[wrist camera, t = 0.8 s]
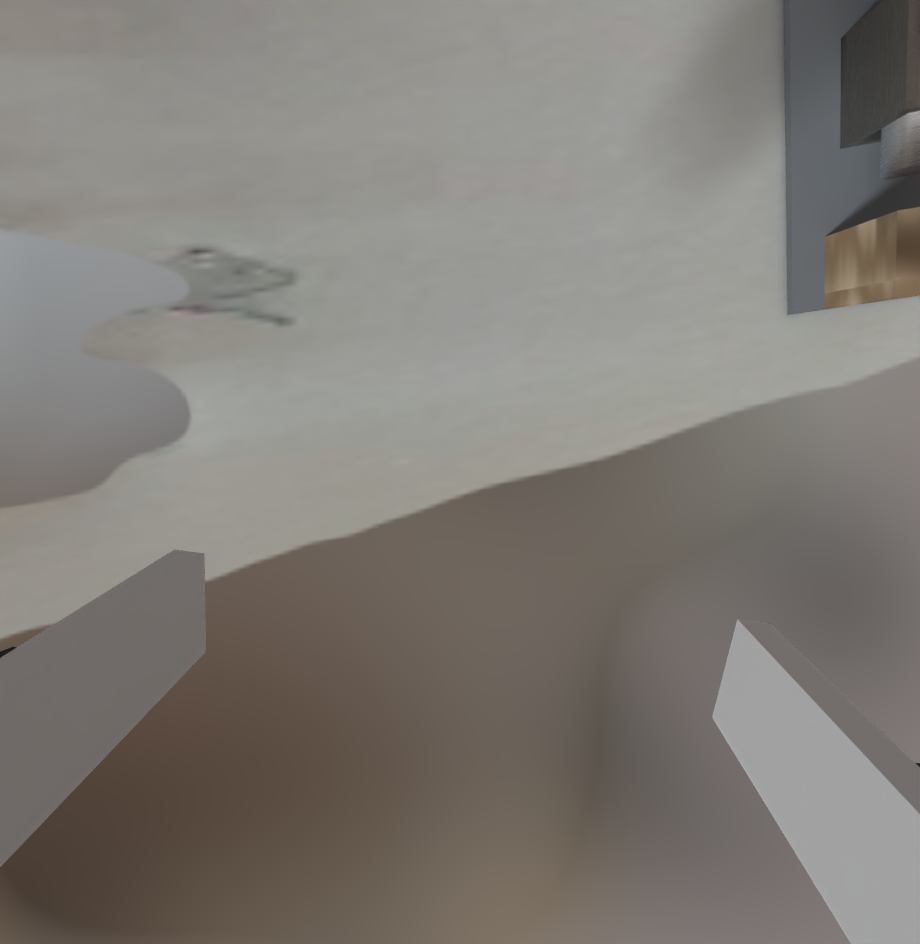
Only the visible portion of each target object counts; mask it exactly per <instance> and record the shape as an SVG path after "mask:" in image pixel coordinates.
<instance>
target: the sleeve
mask: <svg viewBox="0 0 920 944" xmlns="http://www.w3.org/2000/svg"><path fill="white" fill-rule="evenodd" d="M917 111H920V0H883V1H881V2H880V3H879V4H878V5H877V6H876V7H875V8H874V9H873V10H872V11H870V12H869V13H868V14H867V15H866V16H865V17H864V18H863V19H862V20H861V21H860V22H858V23H857V24H856V25H855V26H854V27H853V28H852V29H851V30H850V31H849V32H847V33H846V34H845V35H844V36H843V37H842V38H841V104H840V149H843V148H848V147H854V146H860V145H865V144H871V143H876V142H881V129H882V128H884V127H885V126H887V125H889V124H891V123H892V122H894V121H896V120H897V119H899V118H901V117H902V116H904V115H906V114H908V113H911V112H917Z"/></svg>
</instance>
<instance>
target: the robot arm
mask: <svg viewBox="0 0 920 944" xmlns="http://www.w3.org/2000/svg"><path fill="white" fill-rule="evenodd" d="M204 653H205V566H204V553H196V552H188V551H180V550H173V551H172V552H170V553H168V554H167V555H165V556H163V557H162V558H160V559H159V560H157V561H155V562H154V563H152V564H151V565H149V566H147V567H146V568H144V569H143V570H141V571H139V572H138V573H136V574H135V575H133V576H131V577H130V578H128V579H126V580H125V581H123V582H122V583H120V584H118V585H117V586H115V587H114V588H112V589H110V590H109V591H107V592H106V593H104V594H102V595H101V596H99V597H98V598H96V599H94V600H93V601H91V602H89V603H88V604H86V605H85V606H83V607H81V608H80V609H78V610H77V611H75V612H73V613H72V614H70V615H69V616H67V617H65V618H64V619H62V620H61V621H59V622H57V623H56V624H54V625H52V626H51V627H49V628H48V629H46V630H44V631H43V632H41V633H40V634H38V635H36V636H35V637H33V638H32V639H30V640H28V641H27V642H25V643H23V644H22V645H20V646H19V647H11V648H9V649H6V650H3V651H1V652H0V867H1V866H2V865H3V864H4V862H5V861H6V860H7V859H8V858H9V857H10V856H11V855H12V854H13V853H14V852H15V851H16V850H17V849H18V848H19V847H20V846H21V845H22V843H24V842H25V840H26V839H27V838H28V837H29V836H30V835H31V834H32V833H33V832H34V831H35V830H36V829H37V828H38V827H39V826H40V825H41V824H42V823H43V821H45V819H46V818H47V817H48V816H49V815H50V814H51V813H52V812H53V811H54V810H55V809H56V808H57V807H58V806H59V805H60V804H61V803H62V802H63V801H64V800H65V799H66V797H67V796H68V795H69V794H70V793H71V792H72V791H73V790H74V789H75V788H76V787H77V786H78V785H79V784H80V783H81V782H82V781H83V780H84V778H85V777H87V775H88V774H89V773H90V772H91V771H92V770H93V769H94V768H95V767H96V766H97V765H98V764H99V763H100V762H101V761H102V759H104V758H105V756H107V754H108V753H109V752H110V751H111V750H112V749H113V748H114V747H115V746H116V745H117V744H118V743H119V742H120V741H121V740H122V739H123V738H124V737H125V736H126V735H127V734H128V732H129V731H130V730H131V729H132V728H133V727H134V726H135V725H136V724H137V723H138V722H139V721H140V720H141V719H142V718H143V717H144V716H145V715H146V714H147V713H148V711H149V710H150V709H151V708H152V707H153V706H154V705H155V704H156V703H157V702H158V701H159V700H160V699H161V698H162V697H163V696H164V695H165V694H166V693H167V692H168V691H169V689H170V688H171V687H172V686H173V685H174V684H175V683H176V682H177V681H178V680H179V679H180V678H181V677H182V676H183V675H184V673H186V672H187V671H188V669H189V668H190V667H191V666H192V665H193V664H194V663H195V662H196V661H197V660H198V659H199V658H200V657H201V656H202V655H203V654H204ZM712 718H713V719H714V721H715V723H716V724H717V726H718V727H719V729H720V731H721V732H722V734H723V736H724V737H725V739H726V741H727V742H728V744H729V745H730V747H731V749H732V750H733V752H734V754H735V755H736V757H737V758H738V760H739V762H740V763H741V765H742V766H743V768H744V770H745V772H746V773H747V775H748V776H749V778H750V780H751V781H752V783H753V784H754V786H755V788H756V789H757V791H758V793H759V794H760V796H761V798H762V799H763V801H764V802H765V804H766V806H767V807H768V809H769V811H770V812H771V814H772V816H773V817H774V819H775V820H776V822H777V824H778V825H779V827H780V829H781V830H782V832H783V833H784V835H785V837H786V838H787V840H788V842H789V843H790V845H791V847H792V848H793V850H794V851H795V853H796V855H797V856H798V858H799V860H800V861H801V863H802V864H803V866H804V868H805V869H806V871H807V873H808V874H809V876H810V878H811V879H812V881H813V882H814V884H815V886H816V887H817V889H818V890H819V892H820V894H821V895H822V897H823V899H824V900H825V902H826V904H827V905H828V907H829V909H830V910H831V912H832V913H833V915H834V917H835V918H836V920H837V921H838V923H839V925H840V926H841V928H842V930H843V931H844V933H845V935H846V936H847V938H848V939H849V941H850V943H851V944H920V763H915V762H914V761H912V760H911V759H910V758H909V757H908V756H907V755H906V754H905V753H904V752H903V751H902V750H901V749H900V748H899V747H898V746H897V745H896V744H895V743H894V742H893V741H892V740H891V739H890V738H889V737H887V736H886V735H885V734H884V733H883V732H882V731H881V730H880V729H879V728H878V727H877V726H876V725H875V724H874V723H873V722H872V721H871V720H870V719H869V718H868V717H867V716H866V715H865V714H864V713H863V712H862V711H860V710H859V709H858V708H857V707H856V706H855V705H854V704H853V703H852V702H851V701H850V700H849V699H848V698H847V697H846V696H845V695H844V694H843V693H842V692H841V691H840V690H839V689H838V688H836V686H834V685H833V684H832V683H831V682H830V681H829V680H828V679H827V678H826V677H825V676H824V675H823V674H822V673H821V672H820V671H819V670H818V669H817V668H816V667H814V665H813V664H811V662H809V661H808V660H807V659H806V658H805V657H804V656H803V655H802V654H801V653H800V652H799V651H798V650H797V649H796V648H795V647H794V646H793V645H792V644H791V643H790V642H789V641H788V640H787V639H786V638H785V637H783V636H782V635H781V634H780V633H779V632H778V631H777V630H776V629H775V628H774V627H773V626H772V625H771V624H770V623H763V622H755V621H747V620H737V623H736V627H735V631H734V635H733V639H732V643H731V647H730V650H729V654H728V658H727V662H726V666H725V670H724V674H723V678H722V681H721V685H720V689H719V693H718V697H717V701H716V705H715V709H714V713H713V716H712Z"/></svg>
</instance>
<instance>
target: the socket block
mask: <svg viewBox="0 0 920 944" xmlns="http://www.w3.org/2000/svg"><path fill="white" fill-rule="evenodd" d="M918 295H920V207H916V208H910V209H904V210H898V211H895V212H892V213H889V214H887V215H884V216H881V217H878V218H876V219H873V220H870V221H867V222H865V223H862V224H859V225H856V226H854V227H851V228H848V229H845V230H843V231H840V232H837V233H834V234H832V235H829V236H826V237H825V298H824V309H830V308H837V307H844V306H851V305H858V304H864V303H871V302H878V301H885V300H892V299H898V298H905V297H912V296H918Z"/></svg>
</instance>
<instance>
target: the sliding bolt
mask: <svg viewBox="0 0 920 944" xmlns="http://www.w3.org/2000/svg"><path fill="white" fill-rule="evenodd" d="M916 173H920V111H917V112H911V113H908V114H906V115H904V116H902V117H901V118H899V119H897V120H896V121H894V122H892V123H891V124H889V125H887V126H885V127H884V128H882V129H881V167H880V179H883V180H885V179H894V178H899V177H904V176H908V175H912V174H916Z"/></svg>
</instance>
